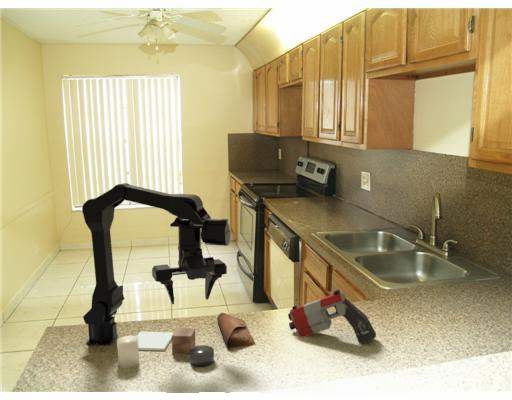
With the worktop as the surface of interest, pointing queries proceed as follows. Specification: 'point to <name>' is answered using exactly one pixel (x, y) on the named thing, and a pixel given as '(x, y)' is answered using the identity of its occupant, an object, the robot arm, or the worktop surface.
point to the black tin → (201, 356)
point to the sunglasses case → (234, 331)
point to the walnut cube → (183, 340)
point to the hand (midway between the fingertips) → (190, 301)
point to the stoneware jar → (128, 351)
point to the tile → (154, 340)
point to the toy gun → (330, 317)
